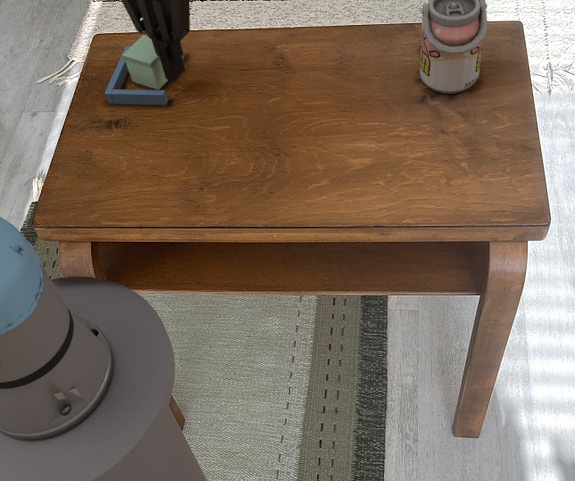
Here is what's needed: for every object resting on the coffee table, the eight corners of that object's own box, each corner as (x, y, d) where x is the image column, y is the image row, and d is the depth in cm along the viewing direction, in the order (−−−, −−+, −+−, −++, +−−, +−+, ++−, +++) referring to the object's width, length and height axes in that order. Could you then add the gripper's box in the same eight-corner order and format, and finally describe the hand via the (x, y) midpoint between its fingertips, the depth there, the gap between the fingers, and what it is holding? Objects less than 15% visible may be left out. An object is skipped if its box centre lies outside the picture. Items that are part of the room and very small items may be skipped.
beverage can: (484, 99, 102) (494, 25, 93) (422, 104, 103) (425, 31, 93) (475, 56, 108) (483, -18, 98) (416, 61, 109) (418, -12, 99)
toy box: (131, 82, 113) (121, 55, 109) (151, 61, 115) (143, 34, 112) (158, 91, 111) (150, 63, 107) (178, 69, 113) (171, 42, 109)
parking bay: (184, 57, 115) (181, 46, 114) (166, 105, 109) (163, 94, 107) (129, 56, 117) (125, 45, 115) (108, 104, 110) (104, 93, 109)
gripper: (193, -90, 90) (226, 69, 108) (107, -105, 94) (153, 49, 113) (157, -57, 86) (199, 101, 104) (70, -75, 91) (124, 79, 109)
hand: (175, 74), depth 108 cm, fingers closed
